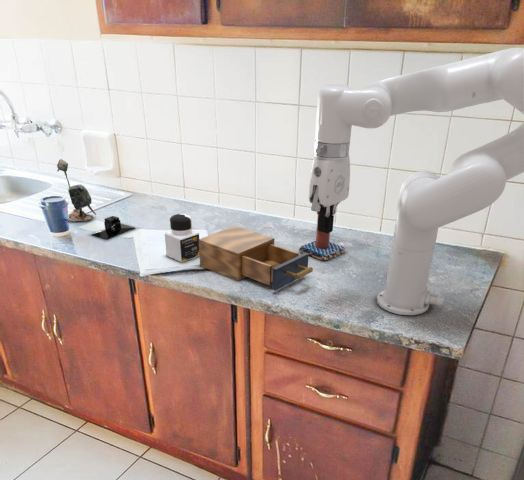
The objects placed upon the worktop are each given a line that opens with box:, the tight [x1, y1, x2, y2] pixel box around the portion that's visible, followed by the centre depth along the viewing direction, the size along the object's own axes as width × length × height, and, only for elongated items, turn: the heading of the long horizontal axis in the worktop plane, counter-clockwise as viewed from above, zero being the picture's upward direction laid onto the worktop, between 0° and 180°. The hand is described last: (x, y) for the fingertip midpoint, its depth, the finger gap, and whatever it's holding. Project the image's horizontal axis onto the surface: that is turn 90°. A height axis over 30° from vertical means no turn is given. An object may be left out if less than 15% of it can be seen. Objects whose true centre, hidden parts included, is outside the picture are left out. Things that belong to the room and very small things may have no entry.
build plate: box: [91, 215, 136, 241], centre depth 165 cm, size 12×7×5 cm, turn 147°
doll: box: [315, 206, 331, 248], centre depth 150 cm, size 4×4×12 cm
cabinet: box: [198, 225, 275, 282], centre depth 144 cm, size 15×15×8 cm
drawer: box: [240, 243, 314, 292], centre depth 136 cm, size 18×14×6 cm
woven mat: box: [298, 240, 346, 261], centre depth 154 cm, size 10×11×2 cm
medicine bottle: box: [164, 213, 200, 263], centre depth 147 cm, size 7×7×12 cm
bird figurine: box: [56, 158, 97, 222], centre depth 170 cm, size 8×11×20 cm
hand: (324, 231), depth 121 cm, fingers closed
